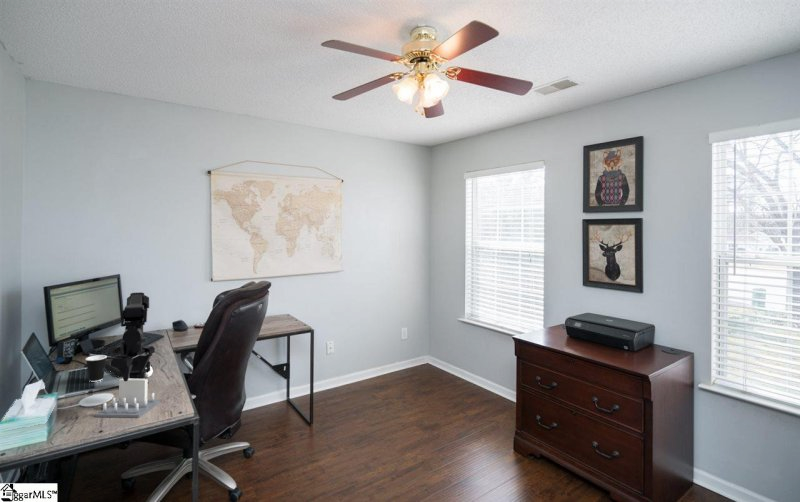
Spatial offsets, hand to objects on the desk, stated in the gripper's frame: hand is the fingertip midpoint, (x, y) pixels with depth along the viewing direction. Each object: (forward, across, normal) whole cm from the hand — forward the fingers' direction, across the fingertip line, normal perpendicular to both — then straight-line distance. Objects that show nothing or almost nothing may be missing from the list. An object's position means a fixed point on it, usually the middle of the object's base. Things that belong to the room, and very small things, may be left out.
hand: (133, 376), depth 158 cm
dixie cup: (+12, -26, -34) cm, 44 cm away
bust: (+12, -34, -17) cm, 40 cm away
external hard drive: (+13, -44, -31) cm, 55 cm away
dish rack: (+12, +3, 0) cm, 12 cm away
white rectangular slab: (+11, 0, 0) cm, 11 cm away
